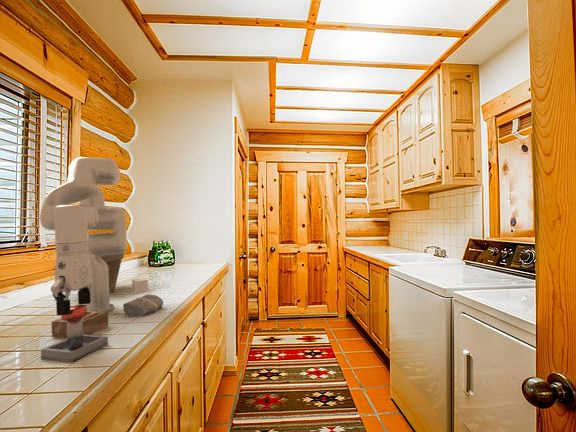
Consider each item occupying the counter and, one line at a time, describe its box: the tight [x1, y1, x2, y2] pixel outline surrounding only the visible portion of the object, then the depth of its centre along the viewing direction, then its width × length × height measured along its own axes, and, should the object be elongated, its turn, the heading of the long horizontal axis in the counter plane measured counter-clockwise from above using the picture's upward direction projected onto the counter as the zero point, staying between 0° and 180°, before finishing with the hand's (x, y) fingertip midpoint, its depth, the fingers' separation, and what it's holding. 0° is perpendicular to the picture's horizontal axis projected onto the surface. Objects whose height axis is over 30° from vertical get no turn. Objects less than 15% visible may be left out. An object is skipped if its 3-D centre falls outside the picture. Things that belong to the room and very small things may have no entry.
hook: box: [60, 304, 87, 351], centre depth 87 cm, size 6×6×12 cm
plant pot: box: [78, 253, 125, 294], centre depth 156 cm, size 25×25×22 cm
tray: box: [40, 334, 109, 363], centre depth 87 cm, size 11×11×2 cm
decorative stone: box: [122, 294, 164, 318], centre depth 122 cm, size 13×10×6 cm
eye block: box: [51, 311, 109, 339], centre depth 103 cm, size 11×11×6 cm
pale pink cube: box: [131, 277, 149, 294], centre depth 158 cm, size 6×6×6 cm
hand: (74, 308), depth 87 cm, fingers open, 9 cm apart
